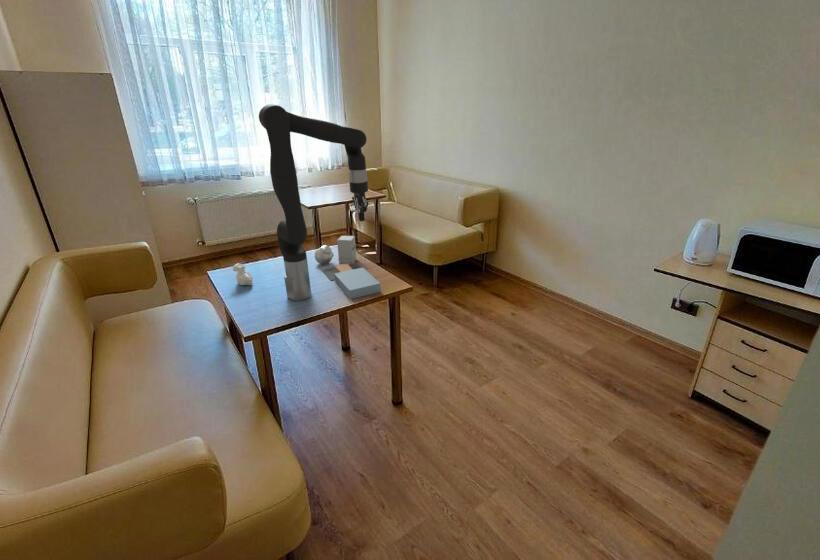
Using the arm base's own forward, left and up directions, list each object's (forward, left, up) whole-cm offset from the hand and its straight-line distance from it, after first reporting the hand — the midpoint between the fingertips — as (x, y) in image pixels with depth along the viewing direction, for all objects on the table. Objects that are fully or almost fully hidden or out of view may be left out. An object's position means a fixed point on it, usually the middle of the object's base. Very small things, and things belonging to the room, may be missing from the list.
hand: (361, 220), depth 177 cm
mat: (0, +16, -29) cm, 33 cm away
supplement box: (+10, +25, -29) cm, 39 cm away
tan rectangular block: (-1, +13, -28) cm, 31 cm away
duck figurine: (-38, +40, -29) cm, 62 cm away
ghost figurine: (0, +31, -29) cm, 42 cm away
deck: (-7, -2, -29) cm, 29 cm away
